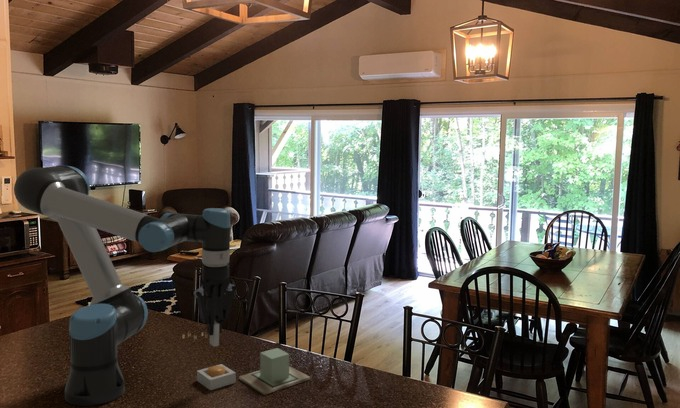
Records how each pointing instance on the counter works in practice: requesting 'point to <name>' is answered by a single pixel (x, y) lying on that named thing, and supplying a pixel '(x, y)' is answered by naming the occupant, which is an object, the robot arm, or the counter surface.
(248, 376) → the beige flat rectangular board
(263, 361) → the sage block
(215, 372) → the button
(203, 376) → the button housing
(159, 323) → the counter surface
